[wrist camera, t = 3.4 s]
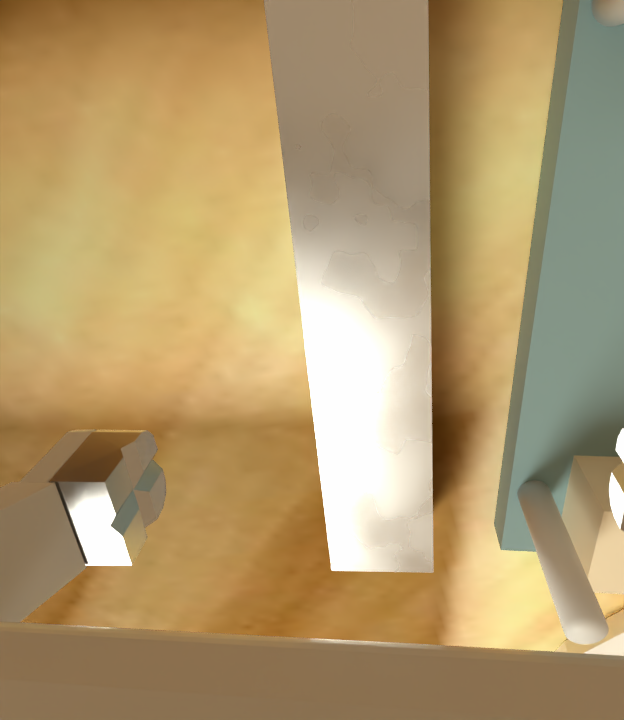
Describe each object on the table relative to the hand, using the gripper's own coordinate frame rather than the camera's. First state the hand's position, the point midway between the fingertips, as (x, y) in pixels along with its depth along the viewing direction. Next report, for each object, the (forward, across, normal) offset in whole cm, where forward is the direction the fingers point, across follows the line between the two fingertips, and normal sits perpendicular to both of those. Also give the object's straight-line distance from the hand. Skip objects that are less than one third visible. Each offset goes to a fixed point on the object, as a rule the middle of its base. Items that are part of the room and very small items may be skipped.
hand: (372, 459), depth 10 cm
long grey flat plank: (+11, 0, 0) cm, 11 cm away
